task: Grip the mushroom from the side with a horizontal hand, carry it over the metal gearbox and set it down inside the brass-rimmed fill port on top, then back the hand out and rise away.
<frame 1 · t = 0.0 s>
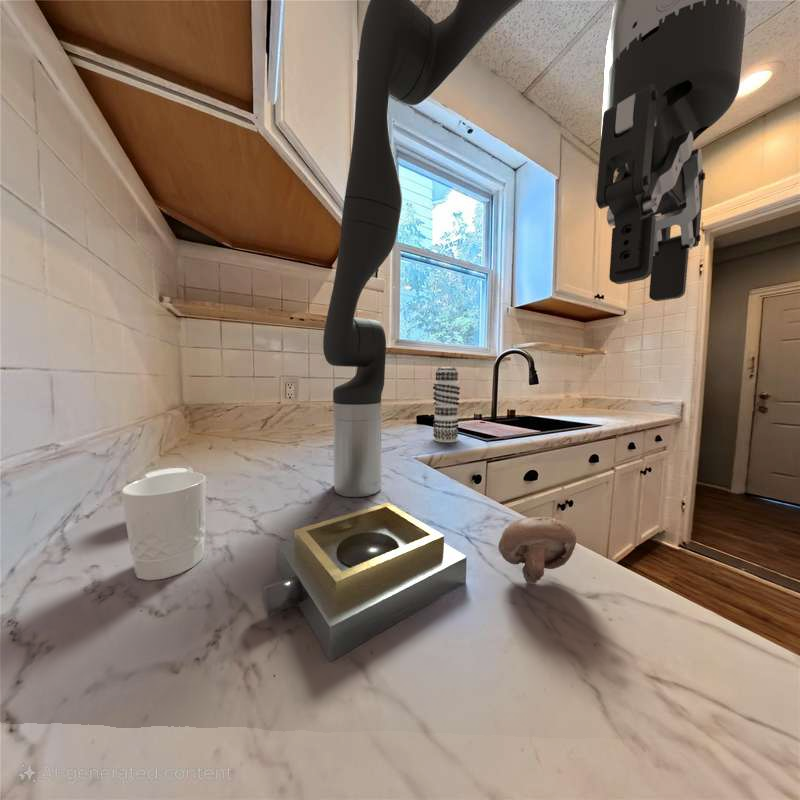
hand: (649, 291, 24), 29 cm above the worktop, tool pointing down, fingers open, 8 cm apart
decorative candle: (445, 440, 108), on the worktop
white cup: (171, 564, 38), on the worktop
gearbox: (368, 574, 36), on the worktop
mushroom: (533, 584, 34), on the worktop
shot glass: (170, 515, 50), on the worktop
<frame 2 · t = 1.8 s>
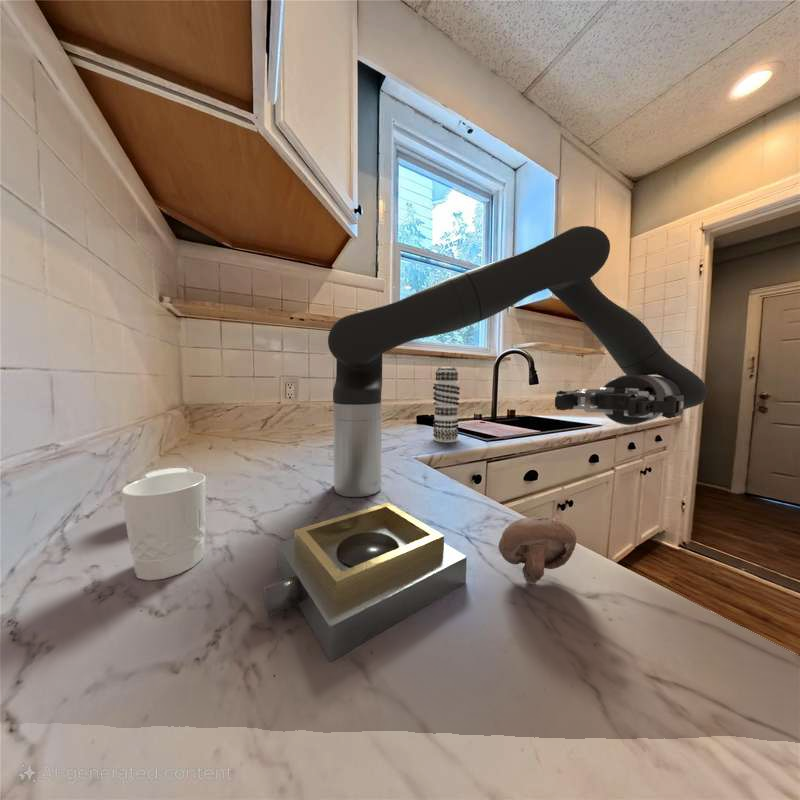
hand: (592, 405, 40), 19 cm above the worktop, tool horizontal, fingers open, 8 cm apart
nothing on the worktop moved.
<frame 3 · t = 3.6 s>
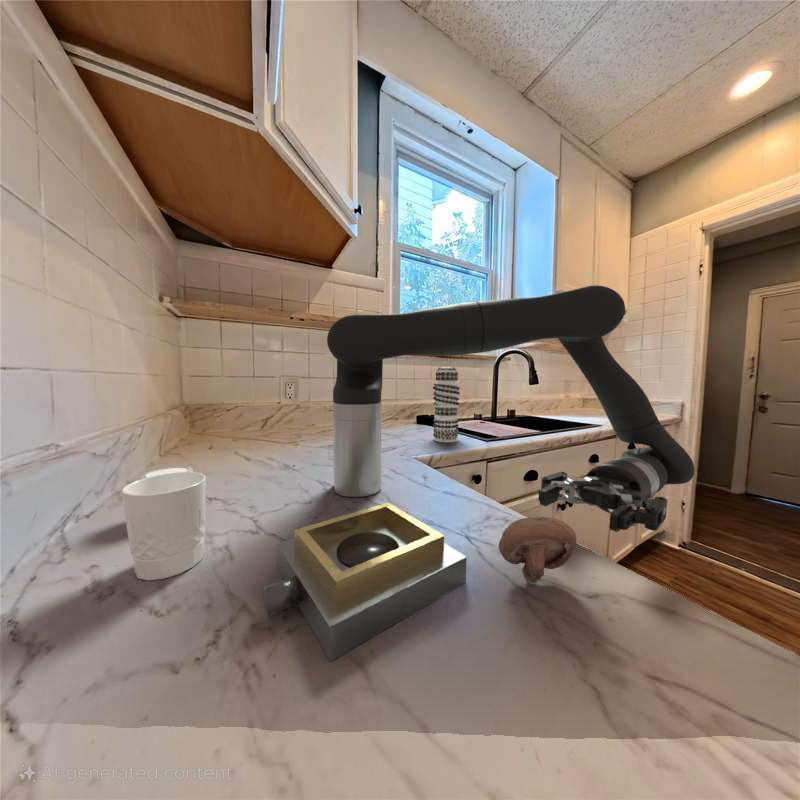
hand: (574, 509, 39), 6 cm above the worktop, tool horizontal, fingers open, 8 cm apart
nothing on the worktop moved.
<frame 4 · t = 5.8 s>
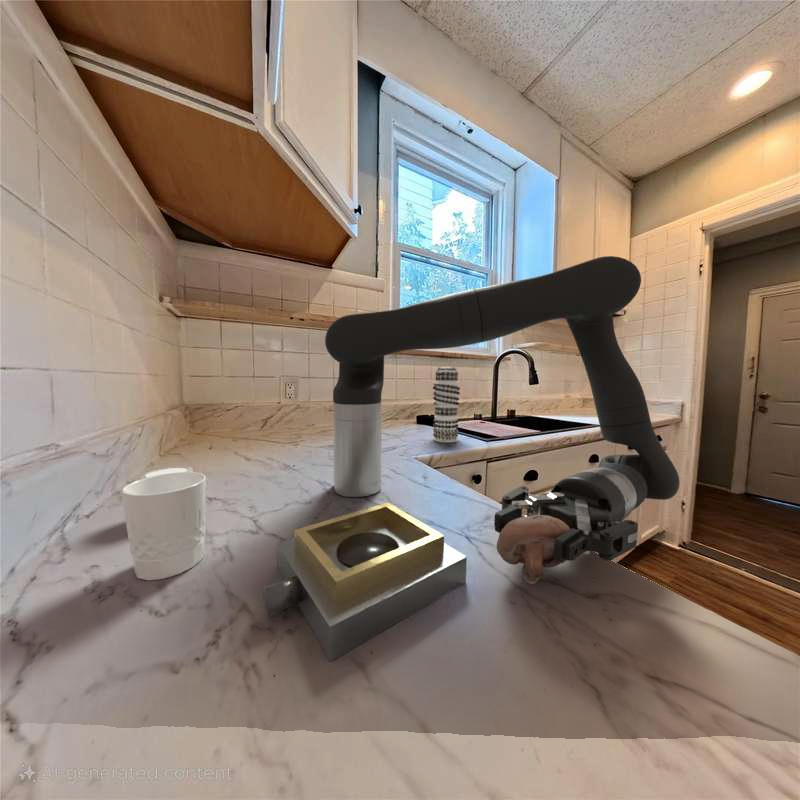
hand: (525, 536, 32), 6 cm above the worktop, tool horizontal, fingers closed on mushroom, 6 cm apart
mushroom: (533, 584, 34), on the worktop, touching gripper
everything else where it was.
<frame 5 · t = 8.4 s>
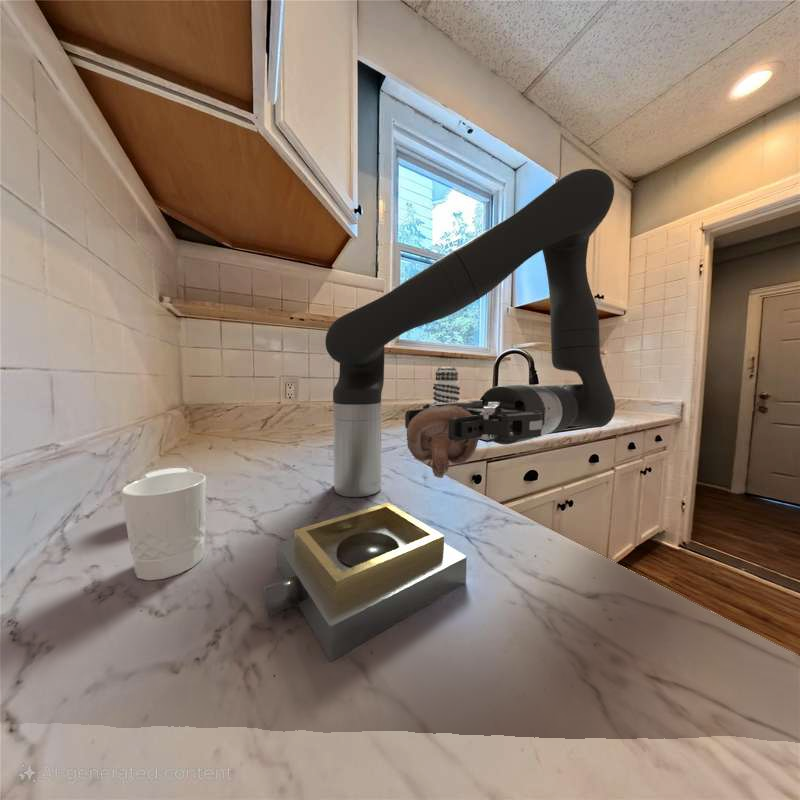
hand: (427, 424, 32), 18 cm above the worktop, tool horizontal, fingers closed on mushroom, 6 cm apart
mushroom: (442, 479, 34), point 11 cm above the worktop, touching gripper
everything else where it was.
when the fingers open (10 cm above the worktop, at t = 10.9 s): mushroom drops 1 cm, resting on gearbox.
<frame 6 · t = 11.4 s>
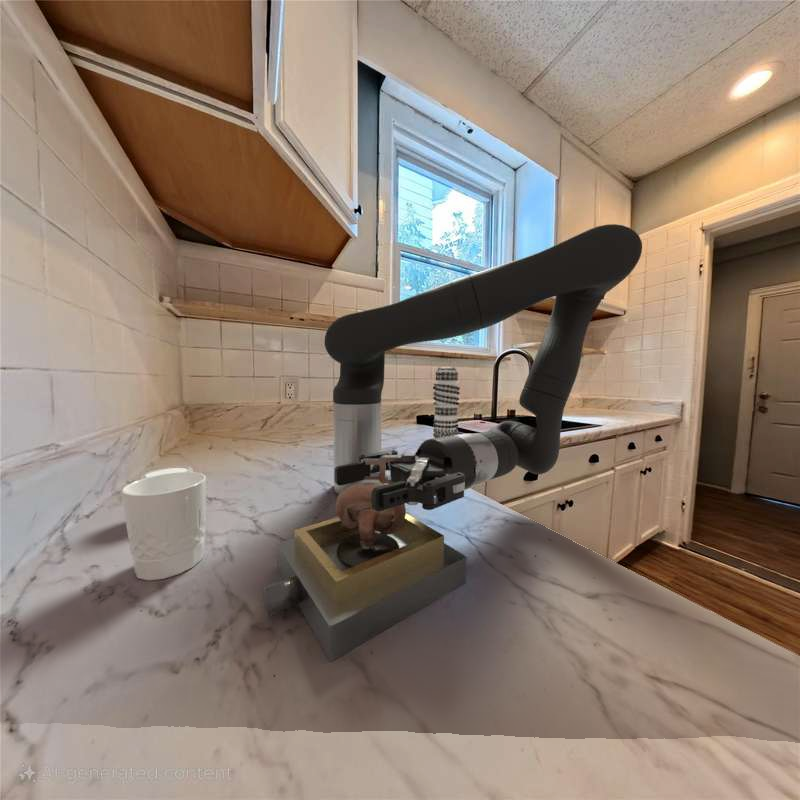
hand: (352, 487, 34), 11 cm above the worktop, tool horizontal, fingers open, 8 cm apart
mushroom: (369, 550, 35), point 3 cm above the worktop, touching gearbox
everything else where it was.
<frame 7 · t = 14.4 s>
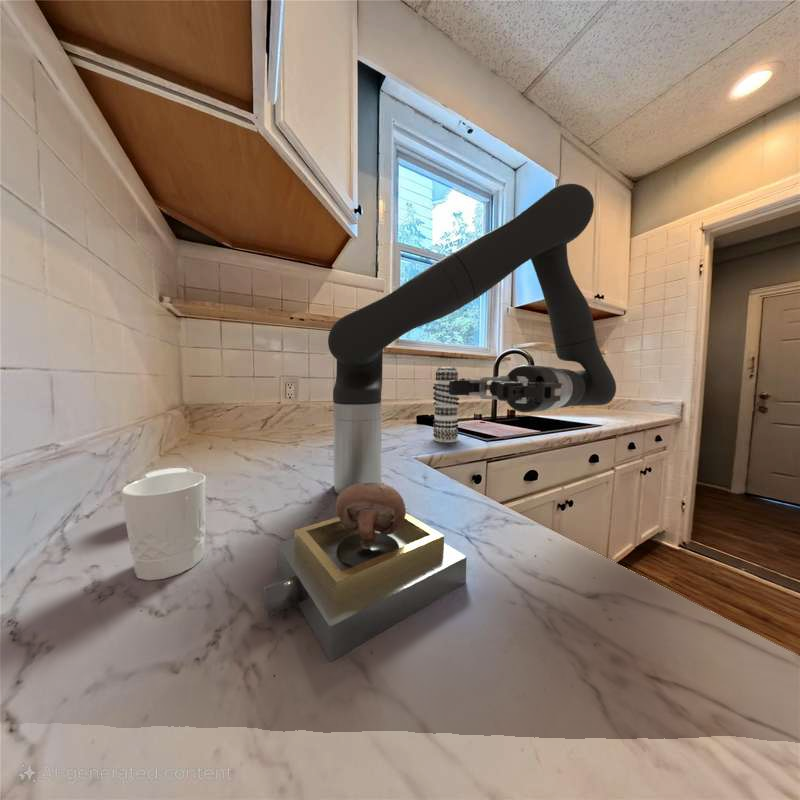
hand: (473, 389, 42), 21 cm above the worktop, tool horizontal, fingers open, 8 cm apart
nothing on the worktop moved.
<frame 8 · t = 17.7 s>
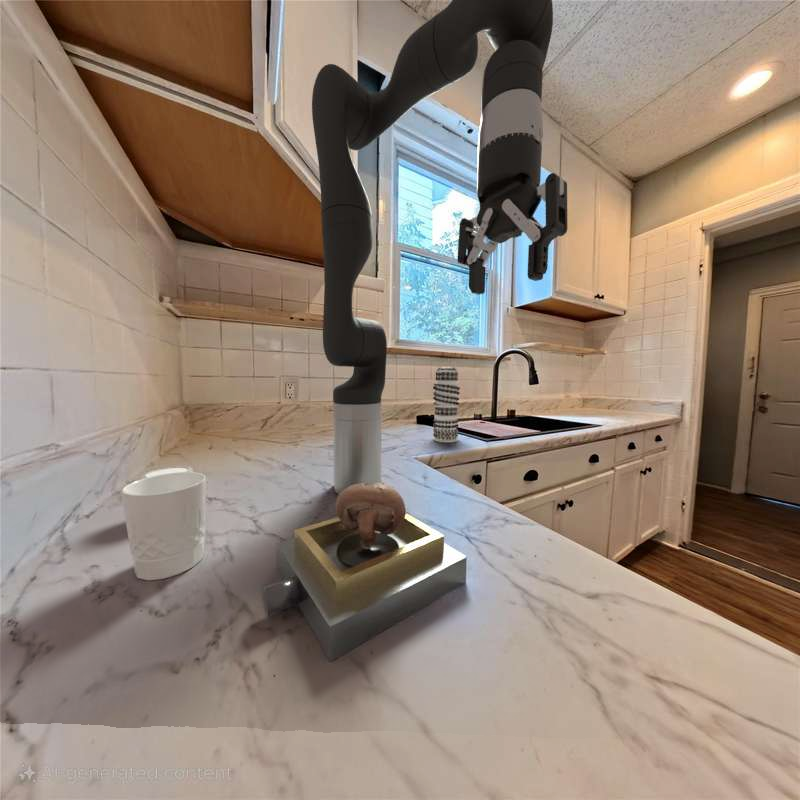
hand: (504, 286, 40), 34 cm above the worktop, tool pointing down, fingers open, 8 cm apart
nothing on the worktop moved.
at the end: mushroom inside the target area on the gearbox (0.1 cm from its centre), point 3.0 cm above the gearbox's base; mushroom tilted 0°; the gripper is holding nothing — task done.
